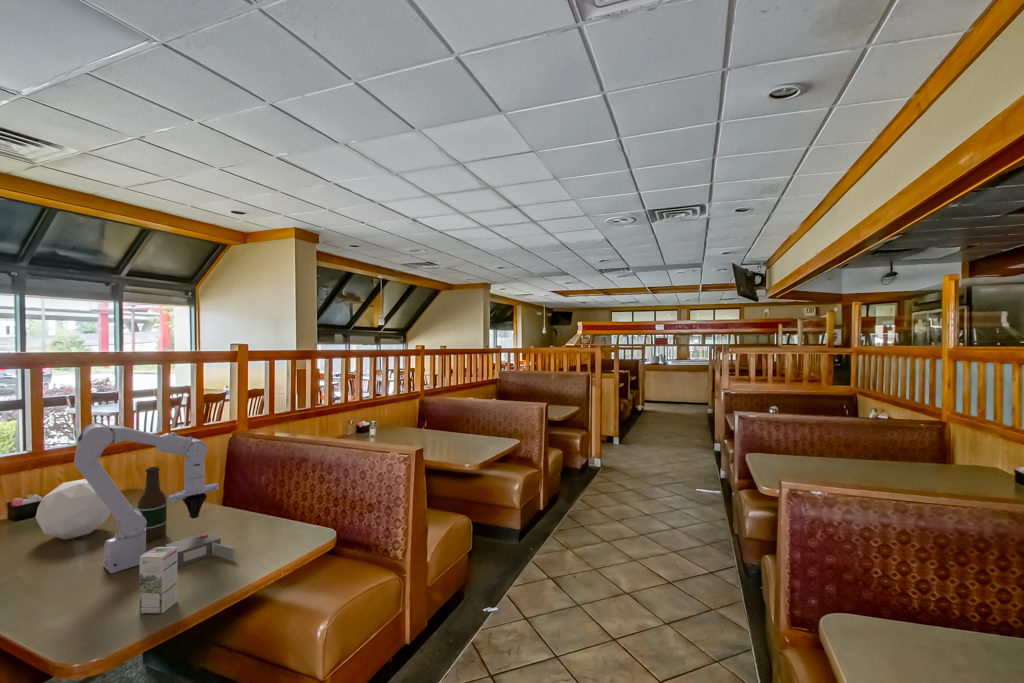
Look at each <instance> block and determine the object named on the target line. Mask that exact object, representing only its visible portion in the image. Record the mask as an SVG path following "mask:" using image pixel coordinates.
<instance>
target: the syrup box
mask: <svg viewBox="0 0 1024 683" xmlns="http://www.w3.org/2000/svg"><path fill="white" fill-rule="evenodd" d="M177 562H178V549H177V547H165V546H155V547H153V548H150V549H149V550H146V553H145V554H143V555H142V556H140V565H139V615H140V614H142V615H144V614H145V615H146V614H147V615H150V614H151V615H153V614H155V615H156V614H158V615H159V614H163V613H164V612H166V611H167V610H169V609H170V608H171V607H173V606H174V605H175V604H177V602H178V567H177Z"/></svg>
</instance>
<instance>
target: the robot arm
mask: <svg viewBox="0 0 1024 683" xmlns="http://www.w3.org/2000/svg"><path fill="white" fill-rule="evenodd" d="M108 426H109V427H108ZM124 441H126V442H133V443H138V444H144V445H145V444H146V445H150V446H155V447H156V449H157V450H158V452H163V453H167V454H173V455H178V456H184V463H183V490H181V491H178V492H175V493H173V494H169V495H168V497H167V498H168V500H167V503H176V502H177V501H180V500H182V502H183V503H184V504H185V506H186V508H187V510H188V511H187V512H188V514H189V516H190V519H196V518H199V515H200V512H201V508H202V506H203V504H204V502H205V500H206V499H207V497H208V496H207V494H206V493H209V492H213V491H218V490H219V488H220V486H219V485H220V484H219V483H210V484H206V455H207V454H208V450H209V448H208V446H207V444H206V443H205V442H203V440H200V439H198V438H195V437H192V436H188V437H186V436H182V435H177V433H176V432H173V431H171V432H170V433H168V432H166V433H163V434H162V435H158V434H154V433H151V432H146V431H143V430H138V429H134V428H131V427H127V426H121V425H115V424H108V425H106V424H105V423H101V422H94V423H90V424H88V425H87V426H85V427H84V428H83V430H82V431H81V432H80V434H79V435H78V437H77V441H76V447H75V448H76V449H75V453H74V458H73V459H74V460H73V462H74V466H75V467H76V469H77V470H78V471H79V472H80V473H81V475H82V476H83V478H84V479H86V480H87V481H88V483H89V484H90V485H91V487H92V488H93V489H94V491H95V492H96V493H97V495H98V496H99V497H100V498H101V500H102V501H103V502H104V504H105V505H106V506H107V508H108V509H109V510H110V512H111V513H110V514H112V516H113V517H114V520H115V525H116V526H117V528H118V530H117V532H116V533H115V535H114V537H111V538H109V539H107V540H105V541H104V546H103V548H104V551H103V554H104V556H103V558H104V559H103V567H104V568H105V570H107V571H108V572H109V573H110V574H114V573H117V572H120V571H124V570H127V569H131V568H133V567H136V566H140V556H142V555H143V554H145V553H146V552H147V542H146V528H145V527H146V524H147V521H146V519H145V518H144V517H143V515H142V513H141V511H140V510H139V509H138V507H137V508H136V507H134V506H132V505H131V503H130V502H129V501H128V499H127V498H126V497H125V495H124V494H123V493H122V492H121V490H120V489H119V487H118V486H117V485H116V483H115V482H114V480H113V479H112V478H111V477H110V475H109V474H108V473H107V471H106V469H105V468H104V467H103V465H102V464H101V462H100V461H99V459H100V457H101V455H102V453H103V451H104V450H105V449H106V448H107V447H108V446H109V445H110V444H112V443H113V444H119V443H122V442H124Z"/></svg>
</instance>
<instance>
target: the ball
mask: <svg viewBox="0 0 1024 683" xmlns="http://www.w3.org/2000/svg"><path fill="white" fill-rule="evenodd" d="M111 514H112V513H111V512H110V510H109V509H108V508H107V506H106V505H105V504H104V502H103V501H102V500H101V498H100V497H99V496H98V495H97V493H96V492H95V491H94V489H93V488H92V487H91V485H90V484H89V483H88V481H87V480H86V479H85V478H83V479H82V478H81V479H77V480H72V481H71V480H70V481H66V482H62V483H61V484H59V485H58V486H57V487H55V488H54V489H53V490H51V491H50V492H49V493H47V494H46V495H45V496H43V497H42V499H41V501H40V502H39V504H38V506H37V510H36V514H35V520H36V521H37V523H38V525H39V528H40V529H41V531H42V532H43V534H44V535H47V536H50V537H51V536H52V537H54V538H57V539H61V540H64V541H65V540H66V539H67V540H70V539H74V538H78V537H81V536H85V535H89V534H91V533H92V532H94V531H95V530H96V529H97V528H99V527H100V526H102V524H104V522H106V521H107V519H108V518H109V517H110V515H111Z"/></svg>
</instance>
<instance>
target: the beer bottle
mask: <svg viewBox="0 0 1024 683" xmlns="http://www.w3.org/2000/svg"><path fill="white" fill-rule="evenodd" d="M160 470H161V469H160V467H159V466H151V467H148V468H146V470H145V472H146V478H145V487H144V488H145V489H144V493H142V495H141V496H140V498H139V500H138V503H137V509H139V510H140V511H141V513H142V515H143V517H144V518H145V519H146V521H147V524H146V527H145V528H146V543H147V542H153V541H156V540H158V539H162V538H163V537H164V536H166V535H167V534H166V533H167V510H168V508H167V503H168V501H167V496H166V494H165V493H164V492H163V491H162V490H161V487H160V486H161V485H160V473H159V471H160Z"/></svg>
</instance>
